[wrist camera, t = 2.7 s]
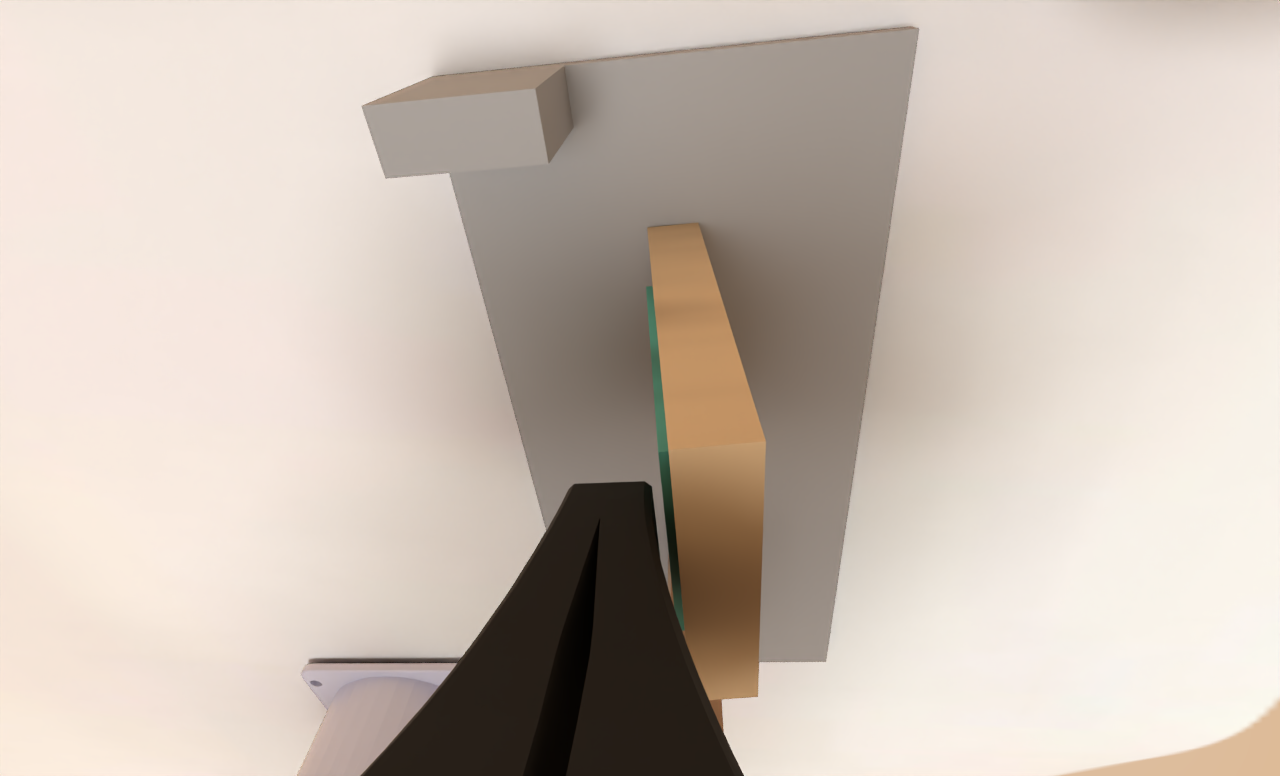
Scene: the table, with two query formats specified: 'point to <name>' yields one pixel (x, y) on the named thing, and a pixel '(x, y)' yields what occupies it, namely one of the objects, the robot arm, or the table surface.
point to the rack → (736, 245)
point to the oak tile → (706, 464)
